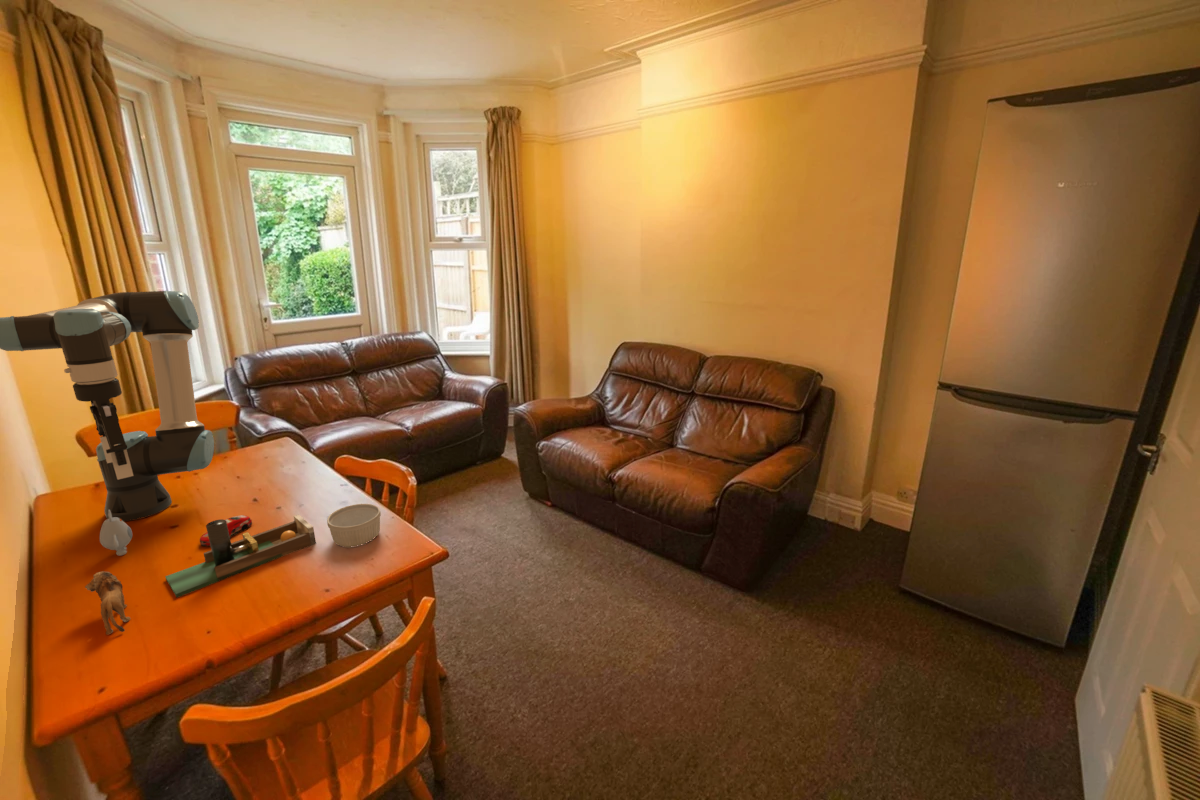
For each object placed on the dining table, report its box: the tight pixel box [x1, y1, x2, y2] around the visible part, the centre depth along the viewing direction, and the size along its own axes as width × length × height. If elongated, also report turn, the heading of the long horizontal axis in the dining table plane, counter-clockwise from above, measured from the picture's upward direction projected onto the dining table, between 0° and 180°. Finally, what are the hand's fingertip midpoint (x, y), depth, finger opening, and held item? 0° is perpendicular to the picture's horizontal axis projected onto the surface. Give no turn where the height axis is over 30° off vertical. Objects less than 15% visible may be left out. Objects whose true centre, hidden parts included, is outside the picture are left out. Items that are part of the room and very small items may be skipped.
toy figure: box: [99, 510, 133, 557], centre depth 135 cm, size 11×6×12 cm, turn 41°
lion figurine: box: [84, 570, 132, 636], centre depth 112 cm, size 15×5×9 cm, turn 52°
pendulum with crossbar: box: [205, 519, 259, 567], centre depth 131 cm, size 7×9×11 cm
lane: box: [165, 514, 317, 598], centre depth 133 cm, size 10×30×5 cm, turn 139°
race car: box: [199, 514, 253, 547], centre depth 145 cm, size 13×5×4 cm, turn 160°
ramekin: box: [326, 503, 382, 548], centre depth 144 cm, size 13×13×7 cm
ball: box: [281, 530, 296, 542], centre depth 141 cm, size 4×4×4 cm
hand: (119, 469), depth 123 cm, fingers open, 13 cm apart
